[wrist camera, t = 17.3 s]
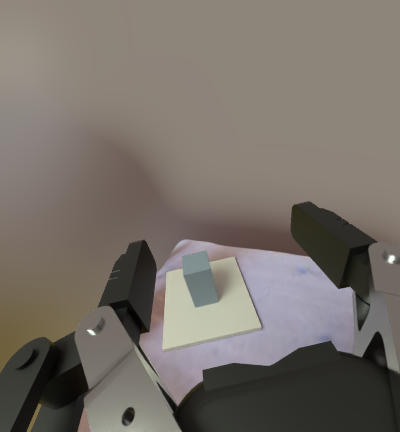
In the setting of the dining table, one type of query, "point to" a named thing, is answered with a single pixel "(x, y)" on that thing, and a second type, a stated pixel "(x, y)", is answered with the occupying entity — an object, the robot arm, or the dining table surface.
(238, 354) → the dining table surface
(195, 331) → the cream tile
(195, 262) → the slate block
